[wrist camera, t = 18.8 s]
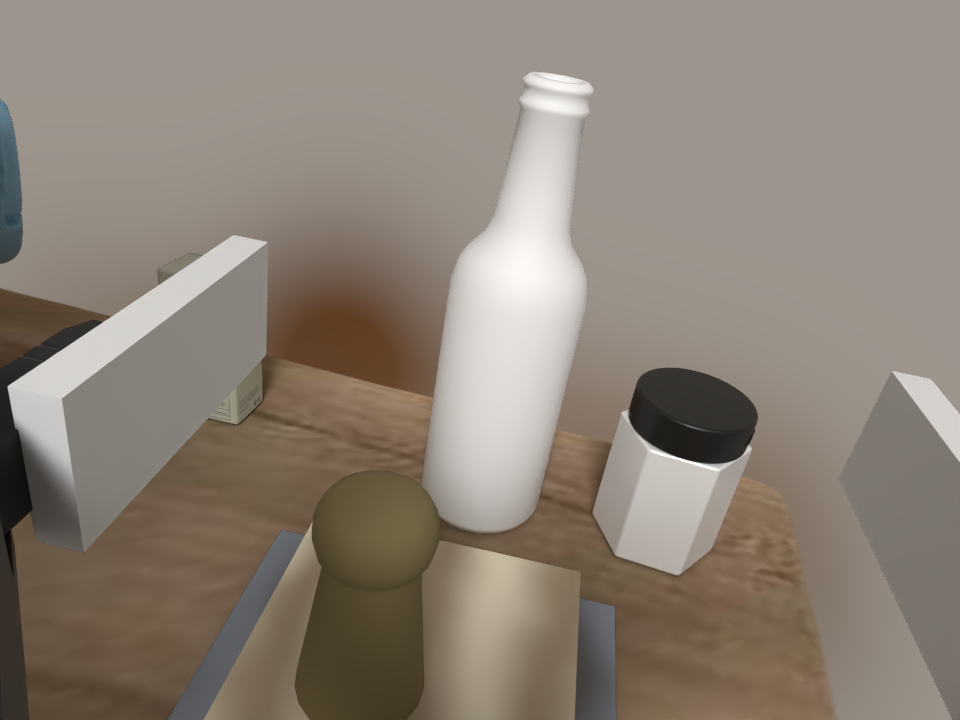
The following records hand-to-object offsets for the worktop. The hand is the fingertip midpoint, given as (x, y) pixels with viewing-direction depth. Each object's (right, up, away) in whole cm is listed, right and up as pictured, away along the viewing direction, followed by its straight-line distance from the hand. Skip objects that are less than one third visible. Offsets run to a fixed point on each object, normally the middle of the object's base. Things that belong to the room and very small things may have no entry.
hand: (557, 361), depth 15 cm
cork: (-7, -15, +19) cm, 25 cm away
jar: (+11, -13, +39) cm, 42 cm away
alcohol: (-2, -11, +39) cm, 40 cm away
